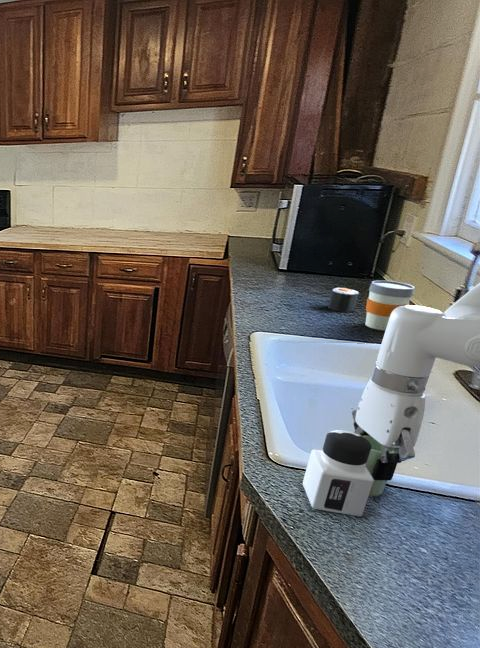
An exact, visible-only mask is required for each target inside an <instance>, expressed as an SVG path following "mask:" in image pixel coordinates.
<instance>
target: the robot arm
mask: <svg viewBox="0 0 480 648" xmlns="http://www.w3.org/2000/svg"><path fill="white" fill-rule="evenodd" d="M376 357H377V358H376V361H375V364H374V366H373V370H372V373H371V377H370V379H369V380H368V381H367V383H366V386H365V387H364V390H363V392H362V395H361V397H360V400H359V403H358V405H357V408H356V409H354V410H352V411H351V416H352V419H353V428H354V432H353V433H356V434H358V435H361V436H372V437H373V438H374V439H375V440H377V441H378V442H379V443H380V444H381V459H377V462H376V465H375V468H374V471H373V474H372V477H373V479H374V480H387V482H388V481H392V480H393V477H394V475H395V472H396V468H397V466H398V464H401V463H402V462H405V461H407V460H410V459H414V458H415V457H416V453H415V449H414V447H415V446H416V444H417V442H418V438H419V435H420V431H421V428H422V424H423V419H424V415H425V409H426V408H425V407H426V395H425V394H424V392H425V391H426V388H427V387H426V386H427V384H428V381H429V378H430V375H431V373H432V369H433V367H434V364H435V361H436V358H437V359H440V360H444V361H446V362H447V361H448V362H451V363H455V364H458V365H461V366H465V367H471V368H480V282H479V283H477V284H476V285H475V286H473V287H472V288H471V289H470V290H468V291H467V292H466V293H465V294H464V295H462V296H460V298H459V299H458V300H456V301H455V302H454V303H453V304H451V305H450V306H449V307H448V308H447V309H446V310H445V311H444V312H442V311H440V310H439V309H435V308H432V307H427V306H422V305H412V304H411V305H410V304H409V305H406V306H400V307H397V308H395V309H394V310H393V311H392V313H391V315H390V318H389V321H388V324H387V327H386V331H385V330H384V334H383V338H382V341H381V344H380V347H379V351H378V354H377V356H376ZM389 448H394V453H393V454H390V455H389Z"/></svg>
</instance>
